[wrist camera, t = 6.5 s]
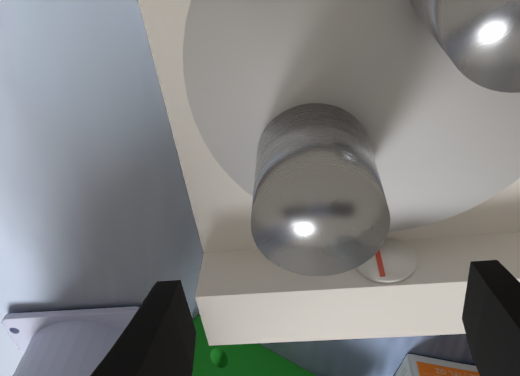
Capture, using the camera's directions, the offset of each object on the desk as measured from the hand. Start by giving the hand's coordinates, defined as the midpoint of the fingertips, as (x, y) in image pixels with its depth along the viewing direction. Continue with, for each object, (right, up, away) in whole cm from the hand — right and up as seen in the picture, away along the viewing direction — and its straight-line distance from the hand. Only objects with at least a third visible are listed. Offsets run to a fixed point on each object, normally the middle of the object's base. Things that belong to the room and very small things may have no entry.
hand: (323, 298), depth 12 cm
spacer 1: (0, +4, +5) cm, 6 cm away
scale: (+3, +7, +6) cm, 10 cm away
